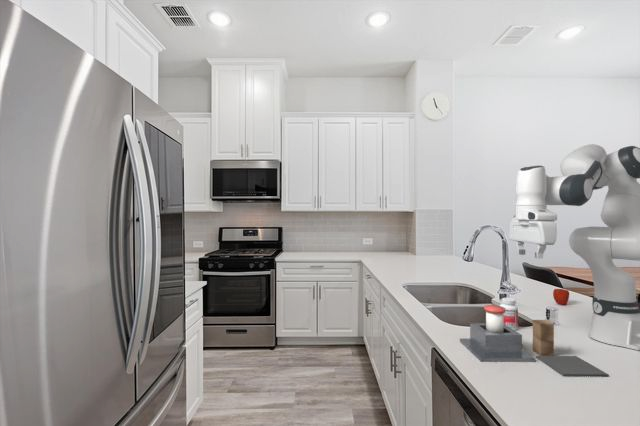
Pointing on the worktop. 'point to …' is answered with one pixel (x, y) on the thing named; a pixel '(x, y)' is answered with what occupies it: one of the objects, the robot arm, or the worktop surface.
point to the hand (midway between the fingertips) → (529, 256)
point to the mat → (571, 366)
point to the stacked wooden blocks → (543, 338)
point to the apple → (561, 296)
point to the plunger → (494, 318)
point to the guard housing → (496, 345)
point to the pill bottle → (510, 313)
